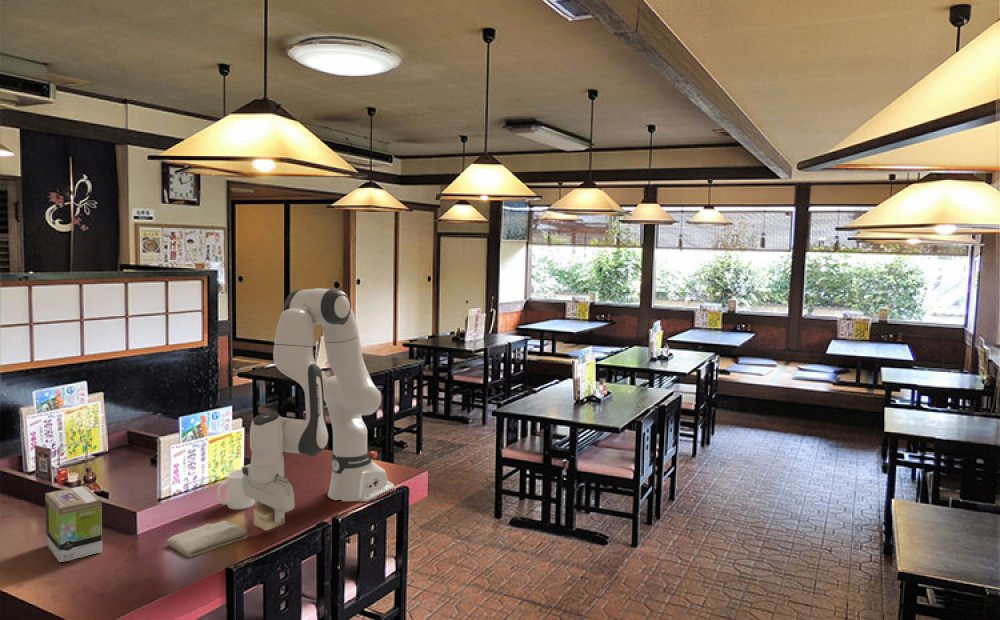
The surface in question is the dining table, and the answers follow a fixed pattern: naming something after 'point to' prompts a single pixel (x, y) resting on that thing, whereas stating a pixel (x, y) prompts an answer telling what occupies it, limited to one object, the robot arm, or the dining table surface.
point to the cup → (234, 492)
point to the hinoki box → (266, 517)
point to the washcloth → (206, 538)
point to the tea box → (73, 523)
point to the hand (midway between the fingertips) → (269, 518)
